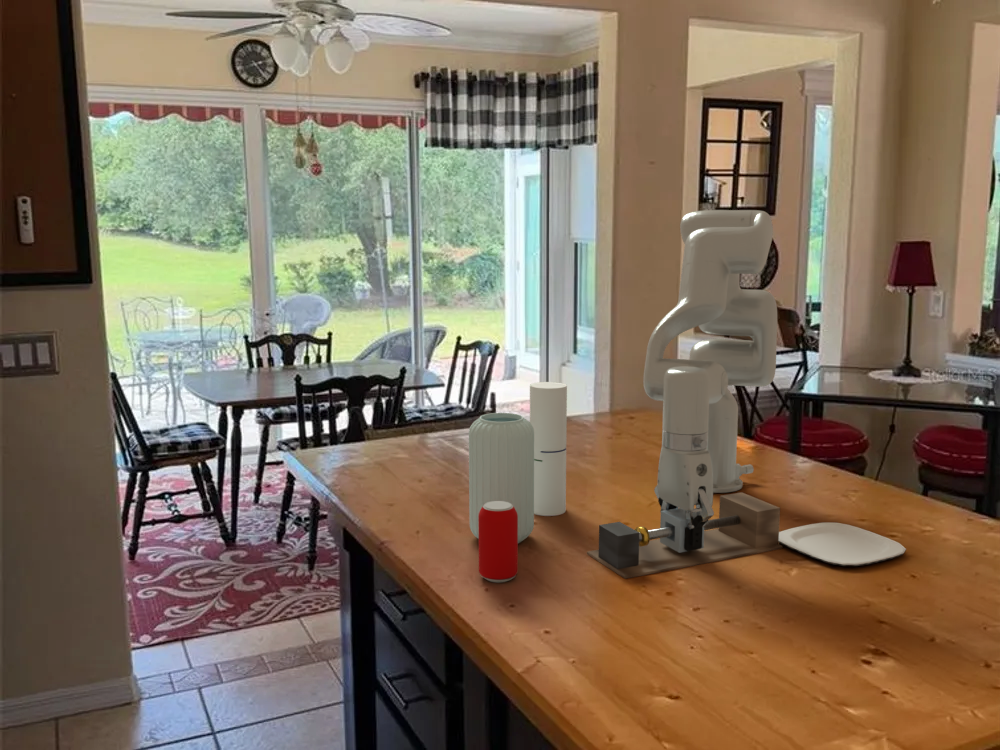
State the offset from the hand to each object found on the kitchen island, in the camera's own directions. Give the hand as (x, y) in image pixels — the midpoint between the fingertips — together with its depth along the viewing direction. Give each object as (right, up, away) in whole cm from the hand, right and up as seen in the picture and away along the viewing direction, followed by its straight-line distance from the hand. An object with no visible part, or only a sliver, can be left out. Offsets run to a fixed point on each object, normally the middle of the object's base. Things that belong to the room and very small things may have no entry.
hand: (681, 542), depth 153 cm
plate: (+28, -2, +2) cm, 28 cm away
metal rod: (-1, +1, 0) cm, 1 cm away
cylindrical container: (-22, +2, +23) cm, 32 cm away
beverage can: (-31, -4, -11) cm, 33 cm away
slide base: (+1, -2, +1) cm, 2 cm away
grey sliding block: (0, 0, 0) cm, 1 cm away
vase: (-31, -1, +7) cm, 32 cm away
